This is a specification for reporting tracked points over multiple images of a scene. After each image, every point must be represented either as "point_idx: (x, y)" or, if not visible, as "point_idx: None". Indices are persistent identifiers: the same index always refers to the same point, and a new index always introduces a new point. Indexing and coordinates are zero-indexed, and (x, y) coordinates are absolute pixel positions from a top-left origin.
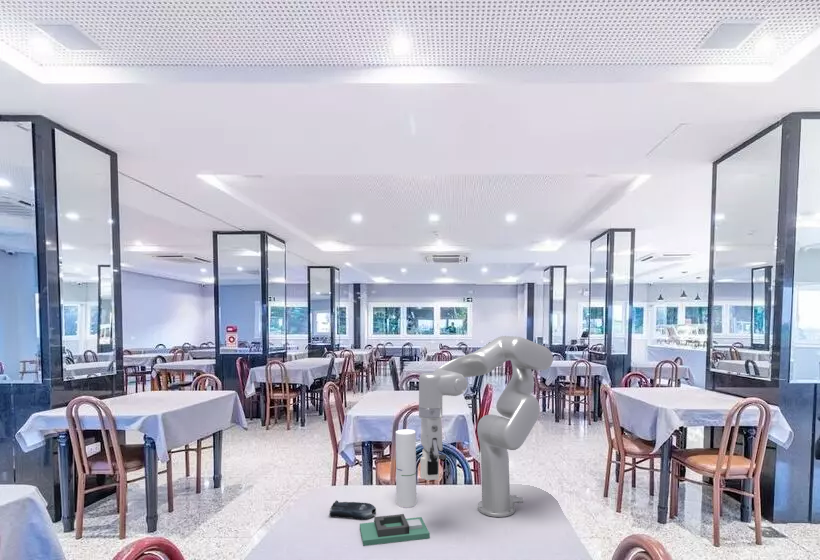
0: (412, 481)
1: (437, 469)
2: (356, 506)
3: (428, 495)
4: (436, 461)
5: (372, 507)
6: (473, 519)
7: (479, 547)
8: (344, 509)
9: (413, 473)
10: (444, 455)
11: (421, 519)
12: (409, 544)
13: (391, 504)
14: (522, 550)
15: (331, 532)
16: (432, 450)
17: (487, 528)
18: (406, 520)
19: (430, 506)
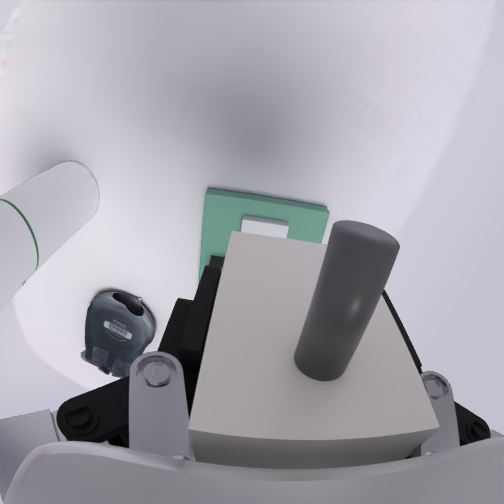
0: (45, 213)
1: (393, 312)
2: (113, 339)
3: (36, 109)
4: (434, 385)
5: (120, 311)
6: (260, 10)
7: (433, 103)
8: (126, 360)
9: (23, 222)
10: (382, 277)
11: (224, 199)
12: None
13: (73, 236)
14: (477, 26)
15: None
16: (289, 463)
17: (343, 6)
18: (215, 247)
19: (105, 120)
